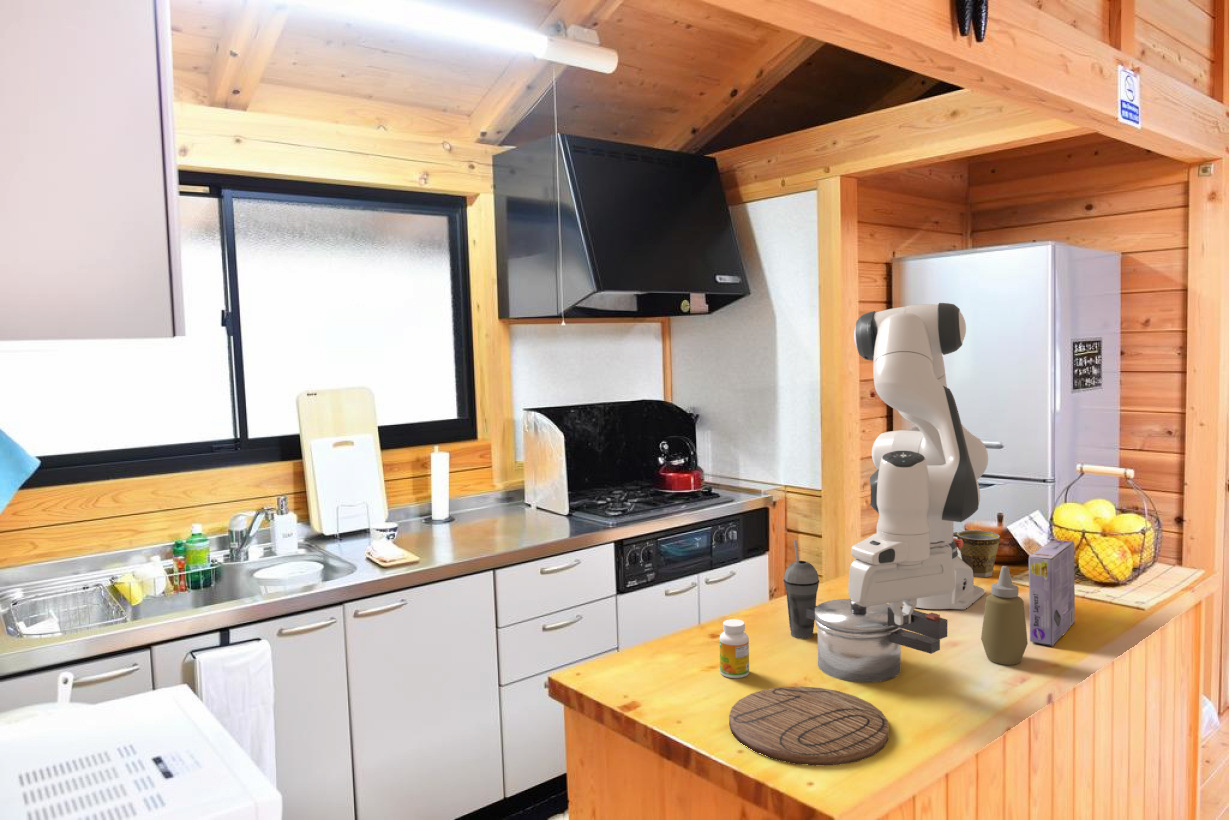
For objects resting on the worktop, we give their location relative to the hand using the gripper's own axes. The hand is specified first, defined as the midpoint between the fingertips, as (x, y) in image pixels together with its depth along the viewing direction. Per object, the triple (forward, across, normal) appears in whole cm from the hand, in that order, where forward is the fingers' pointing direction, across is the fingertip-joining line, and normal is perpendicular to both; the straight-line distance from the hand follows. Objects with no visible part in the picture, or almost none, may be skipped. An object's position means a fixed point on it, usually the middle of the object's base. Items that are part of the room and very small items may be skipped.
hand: (902, 623), depth 156 cm
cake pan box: (+12, -46, -11) cm, 49 cm away
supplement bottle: (+12, +23, -19) cm, 32 cm away
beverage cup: (+12, +1, -31) cm, 33 cm away
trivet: (+13, +23, +6) cm, 27 cm away
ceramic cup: (+11, -62, -51) cm, 81 cm away
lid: (+3, -1, -7) cm, 8 cm away
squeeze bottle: (+12, -26, -3) cm, 29 cm away
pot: (+12, 0, -10) cm, 15 cm away
